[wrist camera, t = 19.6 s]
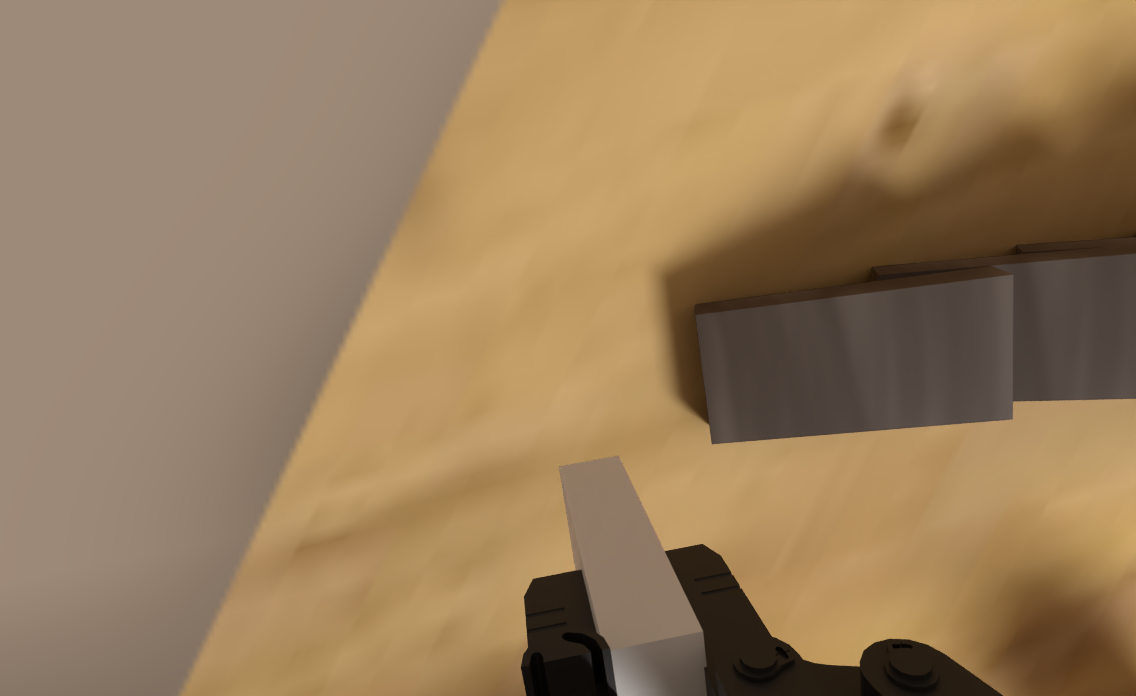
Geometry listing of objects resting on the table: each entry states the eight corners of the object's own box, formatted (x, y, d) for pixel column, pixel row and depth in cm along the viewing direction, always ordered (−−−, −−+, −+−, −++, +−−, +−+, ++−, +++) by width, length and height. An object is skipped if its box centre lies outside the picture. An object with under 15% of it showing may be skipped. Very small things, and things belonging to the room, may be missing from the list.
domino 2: (880, 404, 24) (1215, 396, 21) (878, 274, 23) (1234, 245, 20) (874, 389, 26) (1187, 380, 23) (872, 267, 25) (1203, 238, 21)
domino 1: (711, 444, 24) (1012, 419, 22) (695, 315, 23) (1013, 274, 20) (710, 426, 25) (991, 401, 23) (695, 304, 24) (991, 266, 22)
